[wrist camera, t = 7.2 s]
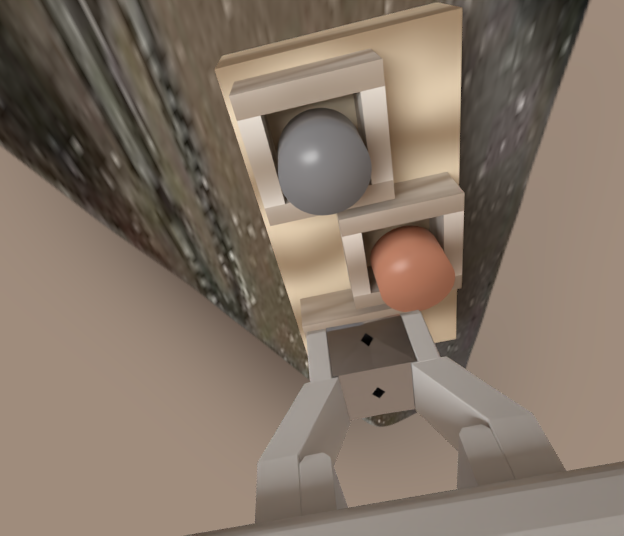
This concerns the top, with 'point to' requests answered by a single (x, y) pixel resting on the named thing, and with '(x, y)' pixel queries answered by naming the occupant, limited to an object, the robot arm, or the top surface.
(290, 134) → the button
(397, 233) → the middle button
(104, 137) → the top surface
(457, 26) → the control panel
